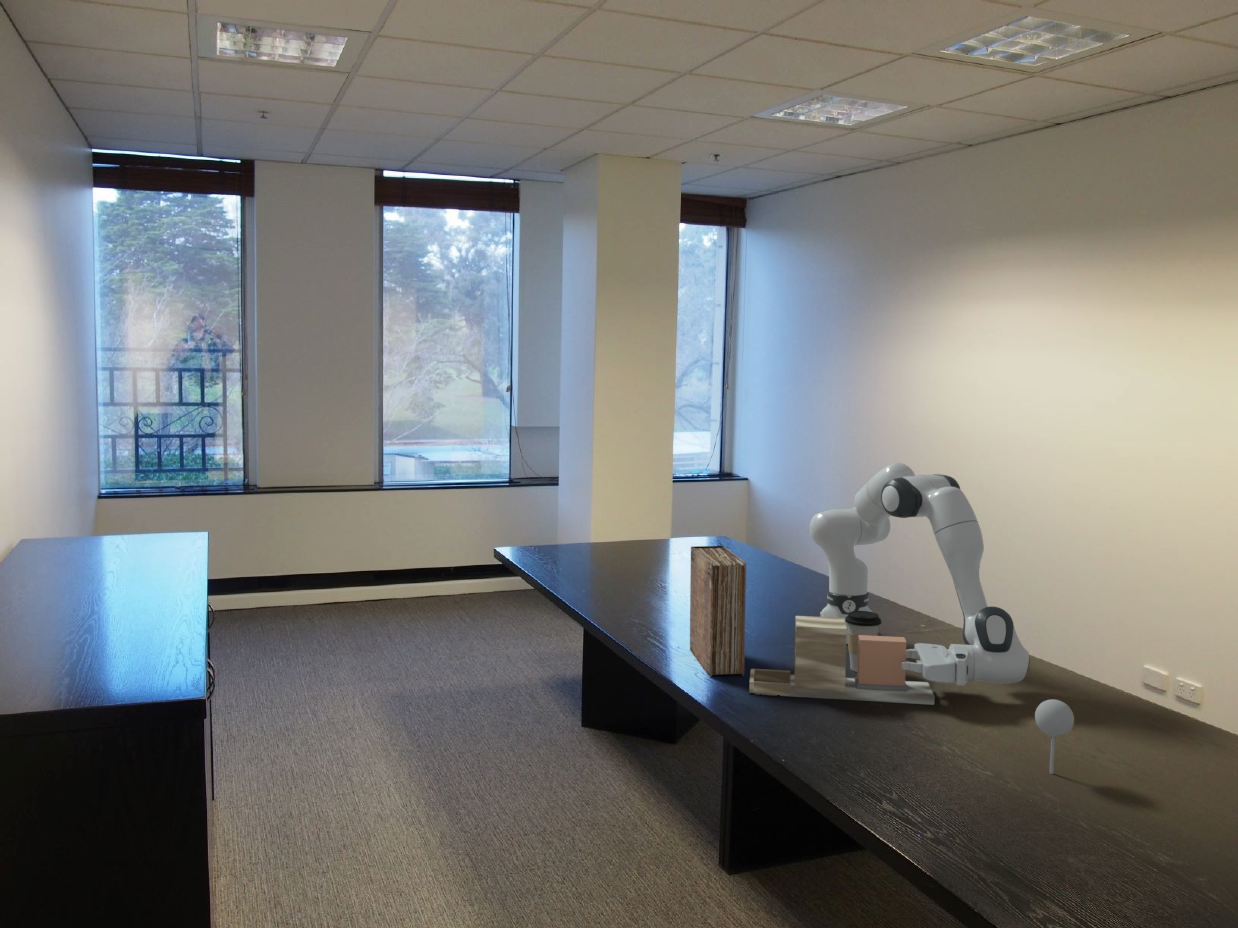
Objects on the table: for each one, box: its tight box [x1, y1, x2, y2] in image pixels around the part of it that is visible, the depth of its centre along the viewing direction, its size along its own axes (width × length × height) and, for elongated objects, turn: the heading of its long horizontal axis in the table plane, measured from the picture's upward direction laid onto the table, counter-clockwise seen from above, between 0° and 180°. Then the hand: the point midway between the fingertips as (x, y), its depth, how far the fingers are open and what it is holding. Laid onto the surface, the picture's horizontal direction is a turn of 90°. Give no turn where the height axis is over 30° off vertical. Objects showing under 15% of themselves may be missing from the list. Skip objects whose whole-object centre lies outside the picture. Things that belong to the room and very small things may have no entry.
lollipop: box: [1034, 699, 1075, 775], centre depth 196 cm, size 7×7×15 cm
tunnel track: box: [748, 615, 936, 705], centre depth 244 cm, size 11×44×18 cm, turn 81°
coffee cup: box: [845, 611, 882, 673], centre depth 263 cm, size 9×9×15 cm
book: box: [689, 545, 747, 678], centre depth 267 cm, size 25×9×30 cm, turn 8°
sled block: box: [854, 635, 907, 691], centre depth 243 cm, size 6×12×12 cm, turn 81°
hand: (899, 659), depth 242 cm, fingers open, 8 cm apart
